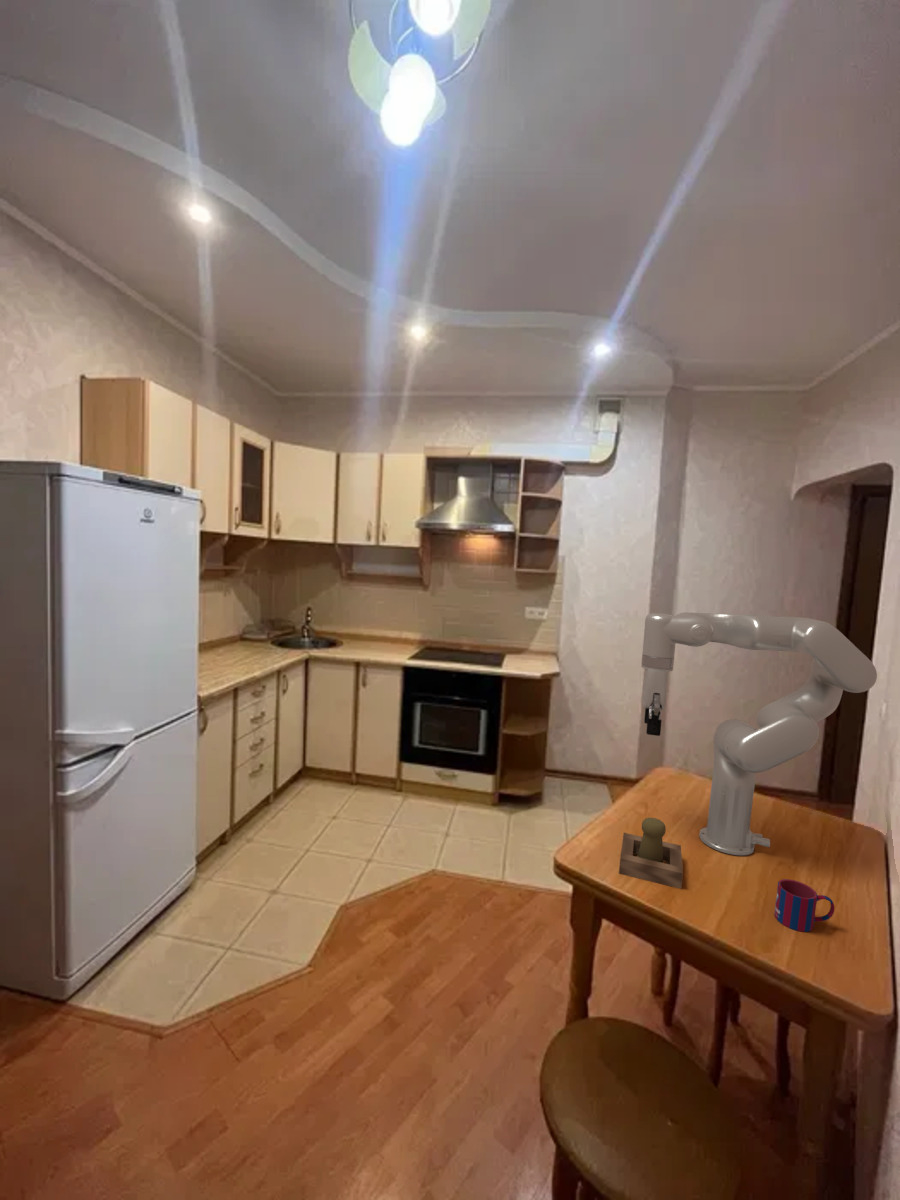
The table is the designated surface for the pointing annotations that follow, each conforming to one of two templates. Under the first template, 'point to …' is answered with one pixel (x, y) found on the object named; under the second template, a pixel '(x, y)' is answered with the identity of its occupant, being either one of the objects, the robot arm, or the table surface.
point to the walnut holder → (651, 863)
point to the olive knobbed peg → (652, 840)
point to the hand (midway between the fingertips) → (651, 729)
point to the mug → (798, 905)
